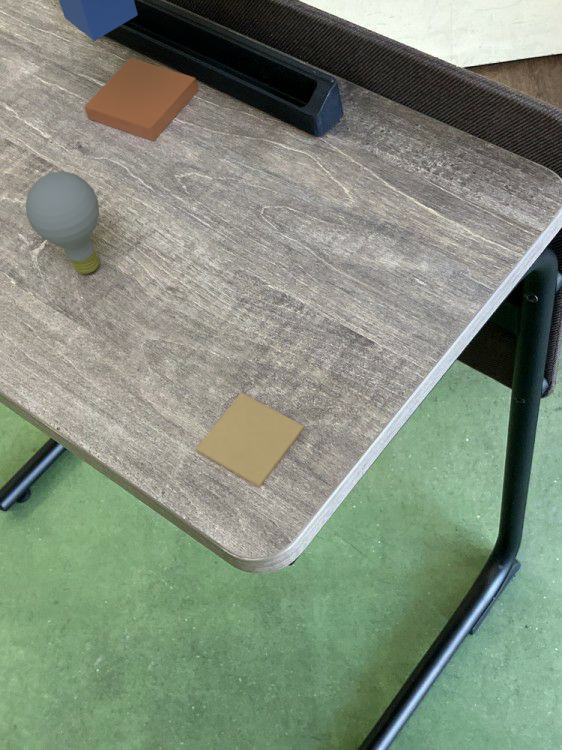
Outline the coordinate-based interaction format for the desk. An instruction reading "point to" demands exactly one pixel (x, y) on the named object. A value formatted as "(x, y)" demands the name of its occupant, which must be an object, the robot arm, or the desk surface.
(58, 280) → the desk surface
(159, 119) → the orange-brown square slab
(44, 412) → the desk surface
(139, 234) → the desk surface
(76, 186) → the light bulb
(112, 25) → the block
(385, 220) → the desk surface
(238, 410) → the mat
